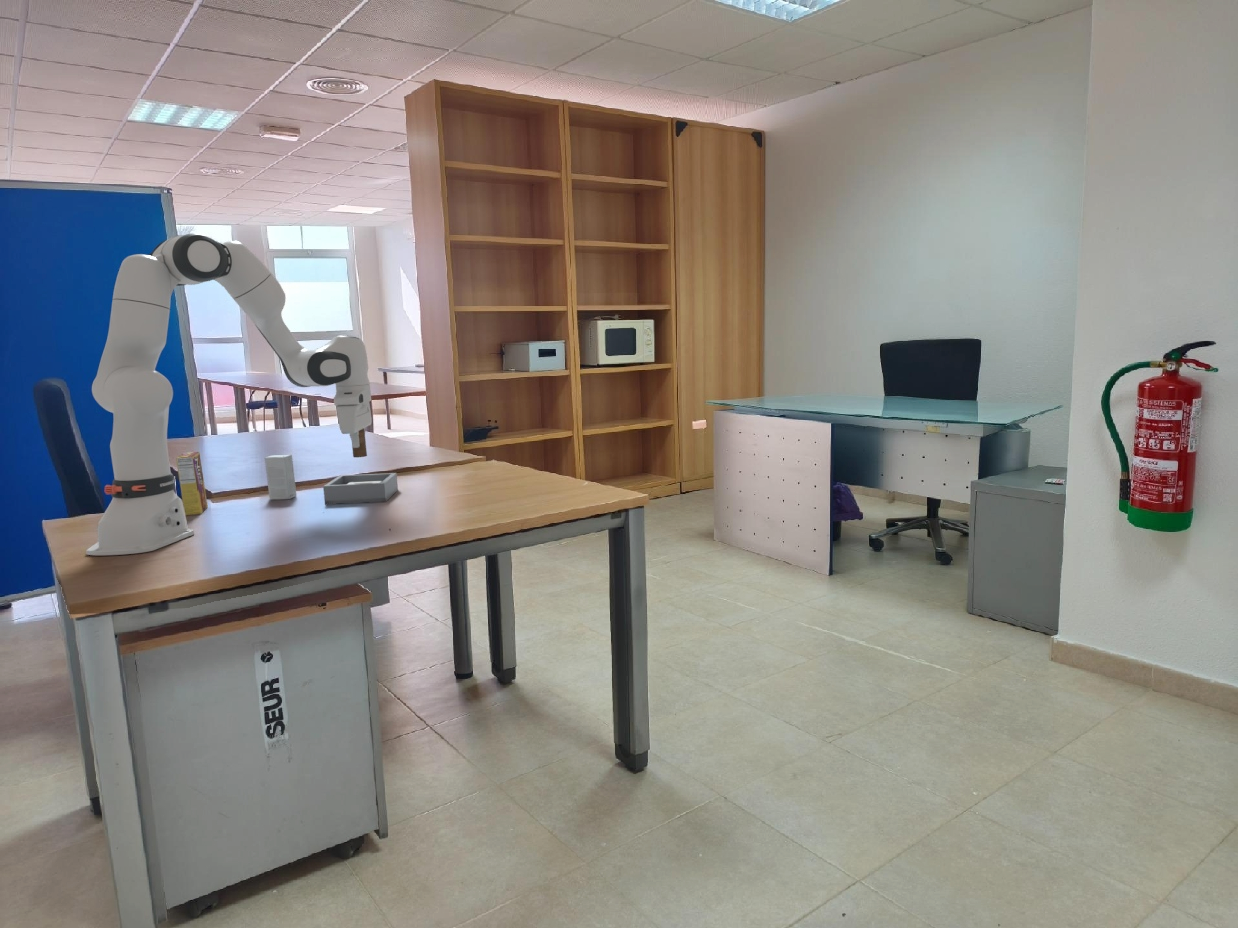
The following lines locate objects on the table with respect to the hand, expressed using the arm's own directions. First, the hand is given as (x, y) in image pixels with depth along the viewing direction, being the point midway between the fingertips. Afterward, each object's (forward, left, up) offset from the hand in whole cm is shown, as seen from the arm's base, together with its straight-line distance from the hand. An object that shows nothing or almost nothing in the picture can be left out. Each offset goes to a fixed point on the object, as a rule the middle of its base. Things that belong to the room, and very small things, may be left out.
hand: (358, 446), depth 218 cm
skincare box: (+4, +23, -15) cm, 28 cm away
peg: (0, 0, -3) cm, 3 cm away
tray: (0, 0, -14) cm, 14 cm away
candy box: (-9, +41, -15) cm, 45 cm away
